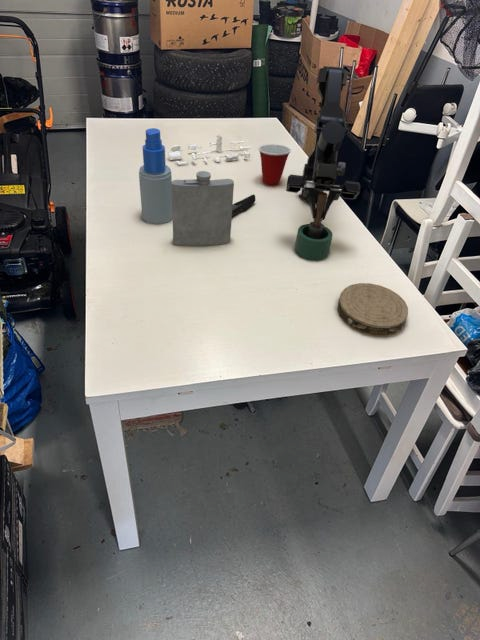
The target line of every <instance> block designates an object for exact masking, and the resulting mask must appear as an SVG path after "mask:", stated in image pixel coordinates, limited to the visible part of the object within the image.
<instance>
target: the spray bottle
mask: <svg viewBox="0 0 480 640" xmlns="http://www.w3.org/2000/svg"><path fill="white" fill-rule="evenodd" d="M141 149H142V158H143V159H142V160H143V161H142V163H143V165H141V166H140V167H139V169H138V180H139V194H140V206H141V207H140V208H141V218H142V220H143V221H144V222H146V223H148V224H152V225H163V224H167V223H169V222H170V221H172V220H173V219H172V184H171V182H172V181H173V179H172V170H171V168H170V166H168V165H166V164H167V163H166V146H165V145H164V144H163V141H162V139H161V129H158V128H153V127H152V128H147V129H145V139H144V144H143V145H142V148H141Z"/></svg>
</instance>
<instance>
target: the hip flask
mask: <svg viewBox="0 0 480 640" xmlns="http://www.w3.org/2000/svg"><path fill="white" fill-rule="evenodd" d="M195 176H196V178H193V179H191V178H190V179H172V182H171V184H172V219H171V220H172V243H173V244H174V245H175V246H179V247H180V246H181V247H203V246H206V247H207V246H217V245H224V244H229V243H230V242H231V235H232V234H231V233H232V232H231V231H232V219H233V216H232V205H233V204H234V189H235V187H234V186H235V180H233V179H232V178H221V179H220V178H219V179H211V178H212V175H211V173H210V172H209V171H207V170H206V171H205V170H200V171H197V172H196V175H195Z"/></svg>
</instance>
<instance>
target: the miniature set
mask: <svg viewBox="0 0 480 640" xmlns="http://www.w3.org/2000/svg"><path fill="white" fill-rule="evenodd" d="M247 142H249V140H235V141H230V142H229V144H230V145H233V144H238V145H239V150H242V151H243V150H249V149H252V146H251V145H250V146H242V145H241V144H240V143H247ZM222 145H223V137H222V136H221V135H220V134H218V135H216V142H213V143H212V142H210V143H209V144H208V146H209V147H212V146H216V149H215V151H217V153H224V152H231V151H236V148H227V149H224V150H222V149H223V148H222V147H223V146H222ZM181 147H183V144H175V145H172V146H170V148H169V150H170V152H168V159H169V161H174V160H175V163H176V164H177V165H178V166H181V165H188V164H189V162H188V161H179V160H182V153H181V152H183V149H181ZM187 149H188V150H193V151H197V149H202V146H201V145H199V146H198V145H197V143H193V144H187ZM211 153H212V152H211V150H207V151H202V152H196V153H194V152H191V154H188V155H187V156H191V158H192V159H193V161H197V160H198V157H197V156H198V155H206V154H211ZM243 153H244V154H243V155H244V159H250V155H251V153H250V152H248V151H243ZM202 158H203V160H204V162H205V163H206V164H208V159H207V158H206V156H202ZM238 159H239V153H235V154H226V155H225V159H224V160H225V161H227V162H229V161H234V160H238ZM213 160H214V161H215V162H216V163H220V158H219V156H216V157H214V158H213Z"/></svg>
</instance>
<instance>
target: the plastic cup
mask: <svg viewBox="0 0 480 640" xmlns="http://www.w3.org/2000/svg"><path fill="white" fill-rule="evenodd" d="M291 150H292V149H291V148H290V147H289V146H286V145H283V144H276V143H270V144H269V143H268V144H261V145H259V146H258V151H259V154H260V156H259V157H260V164H261V176H262V183H263V184H264V185H266V186H270V187H275V186H279V184H280V183H281V179H282V176H283V174H284V171H285V166H286V163H287V160H288V157H289V155H290V153H291Z"/></svg>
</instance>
